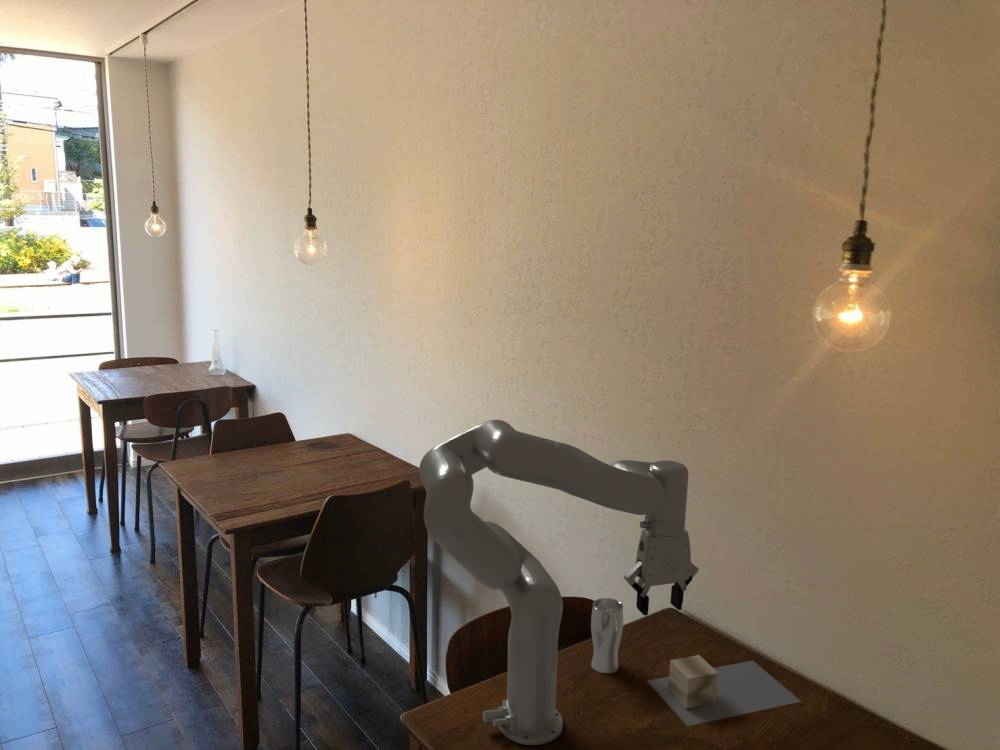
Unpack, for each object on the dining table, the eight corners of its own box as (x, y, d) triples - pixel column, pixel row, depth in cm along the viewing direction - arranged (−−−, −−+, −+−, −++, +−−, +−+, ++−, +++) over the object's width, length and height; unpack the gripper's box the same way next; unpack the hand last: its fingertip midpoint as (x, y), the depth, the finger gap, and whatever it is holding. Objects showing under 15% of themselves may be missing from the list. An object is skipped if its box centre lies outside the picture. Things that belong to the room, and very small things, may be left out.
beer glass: (627, 670, 171) (630, 607, 168) (603, 680, 167) (606, 615, 164) (606, 655, 176) (609, 594, 173) (582, 664, 172) (585, 602, 170)
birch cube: (686, 710, 156) (688, 678, 155) (668, 690, 163) (670, 660, 161) (715, 704, 158) (718, 672, 157) (696, 684, 165) (699, 654, 163)
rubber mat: (687, 728, 151) (687, 726, 151) (646, 682, 166) (646, 680, 166) (801, 703, 160) (801, 701, 160) (752, 662, 175) (753, 660, 175)
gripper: (634, 537, 144) (629, 625, 147) (714, 527, 149) (707, 612, 153) (615, 522, 151) (611, 606, 154) (693, 513, 156) (687, 595, 160)
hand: (659, 608), depth 154 cm, fingers open, 6 cm apart
